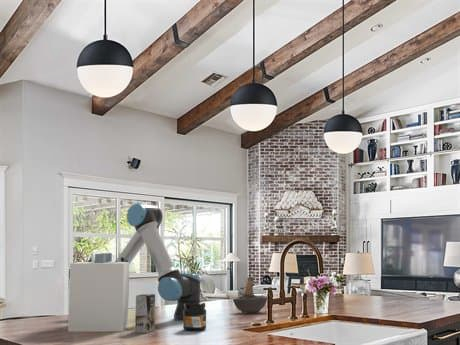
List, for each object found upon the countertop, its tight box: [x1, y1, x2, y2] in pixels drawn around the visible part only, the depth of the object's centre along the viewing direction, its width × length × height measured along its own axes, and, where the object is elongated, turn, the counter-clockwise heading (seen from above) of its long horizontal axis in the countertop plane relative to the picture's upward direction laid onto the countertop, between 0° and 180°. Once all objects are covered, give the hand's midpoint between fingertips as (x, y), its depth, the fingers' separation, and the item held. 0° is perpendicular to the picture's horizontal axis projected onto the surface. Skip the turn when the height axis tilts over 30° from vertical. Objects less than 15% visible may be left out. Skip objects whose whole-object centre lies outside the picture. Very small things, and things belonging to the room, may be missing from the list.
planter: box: [232, 276, 268, 314], centre depth 352 cm, size 15×17×20 cm
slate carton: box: [94, 252, 113, 263], centre depth 298 cm, size 4×24×4 cm, turn 2°
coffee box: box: [134, 293, 156, 334], centre depth 278 cm, size 9×6×16 cm
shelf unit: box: [67, 261, 130, 333], centre depth 289 cm, size 24×21×30 cm
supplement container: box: [182, 301, 207, 332], centre depth 283 cm, size 10×10×12 cm
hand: (105, 255), depth 305 cm, fingers open, 13 cm apart
